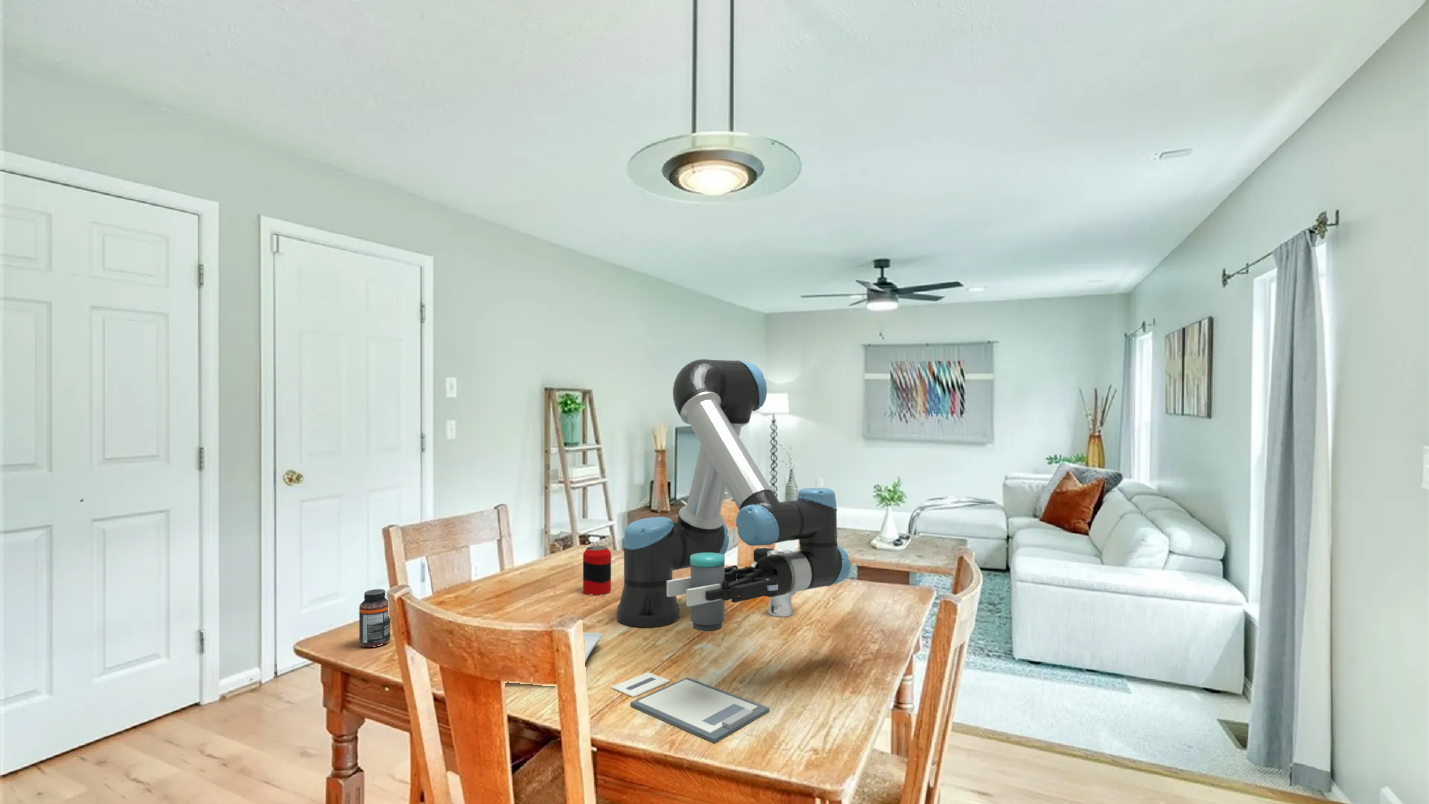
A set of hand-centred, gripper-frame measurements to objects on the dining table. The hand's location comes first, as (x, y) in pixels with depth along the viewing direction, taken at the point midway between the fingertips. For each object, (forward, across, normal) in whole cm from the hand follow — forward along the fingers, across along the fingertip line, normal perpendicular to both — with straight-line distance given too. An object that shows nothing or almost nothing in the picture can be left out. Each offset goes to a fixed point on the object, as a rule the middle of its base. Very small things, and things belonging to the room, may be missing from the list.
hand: (677, 593), depth 114 cm
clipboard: (-2, -4, -19) cm, 19 cm away
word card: (+2, +10, -19) cm, 21 cm away
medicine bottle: (-55, +46, -19) cm, 74 cm away
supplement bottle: (+40, +61, -19) cm, 75 cm away
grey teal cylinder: (-6, 0, -7) cm, 9 cm away
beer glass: (-47, +29, -19) cm, 58 cm away
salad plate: (+14, +30, -19) cm, 39 cm away
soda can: (-17, +72, -19) cm, 76 cm away
